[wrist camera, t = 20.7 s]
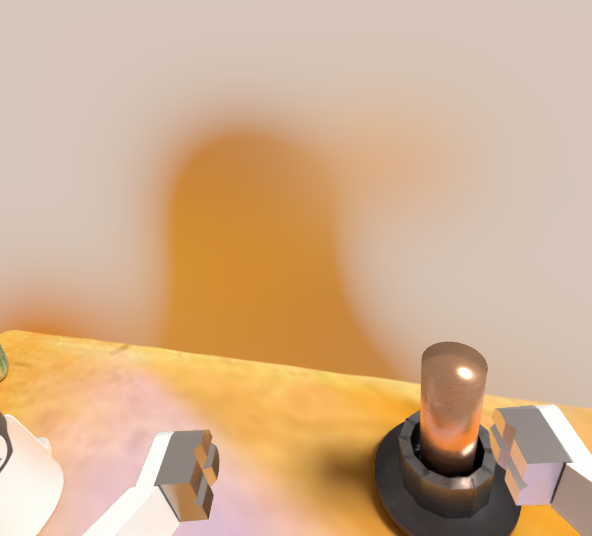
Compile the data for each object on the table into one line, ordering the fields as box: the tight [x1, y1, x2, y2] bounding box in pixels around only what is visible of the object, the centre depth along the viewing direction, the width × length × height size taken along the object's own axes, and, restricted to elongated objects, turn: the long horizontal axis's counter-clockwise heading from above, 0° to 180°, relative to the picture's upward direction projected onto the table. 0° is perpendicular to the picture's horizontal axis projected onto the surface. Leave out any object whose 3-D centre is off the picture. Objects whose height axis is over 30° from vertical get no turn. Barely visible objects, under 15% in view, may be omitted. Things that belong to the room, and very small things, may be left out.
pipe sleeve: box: [375, 410, 521, 536], centre depth 38 cm, size 14×14×6 cm
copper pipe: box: [419, 342, 488, 478], centre depth 35 cm, size 5×5×16 cm
